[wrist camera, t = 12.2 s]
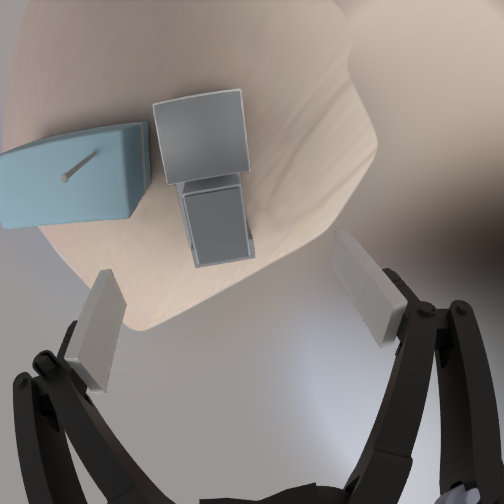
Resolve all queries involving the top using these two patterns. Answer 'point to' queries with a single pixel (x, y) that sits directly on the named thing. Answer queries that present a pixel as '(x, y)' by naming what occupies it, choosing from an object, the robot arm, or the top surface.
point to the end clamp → (252, 255)
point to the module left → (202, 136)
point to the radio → (75, 176)
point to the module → (216, 218)
